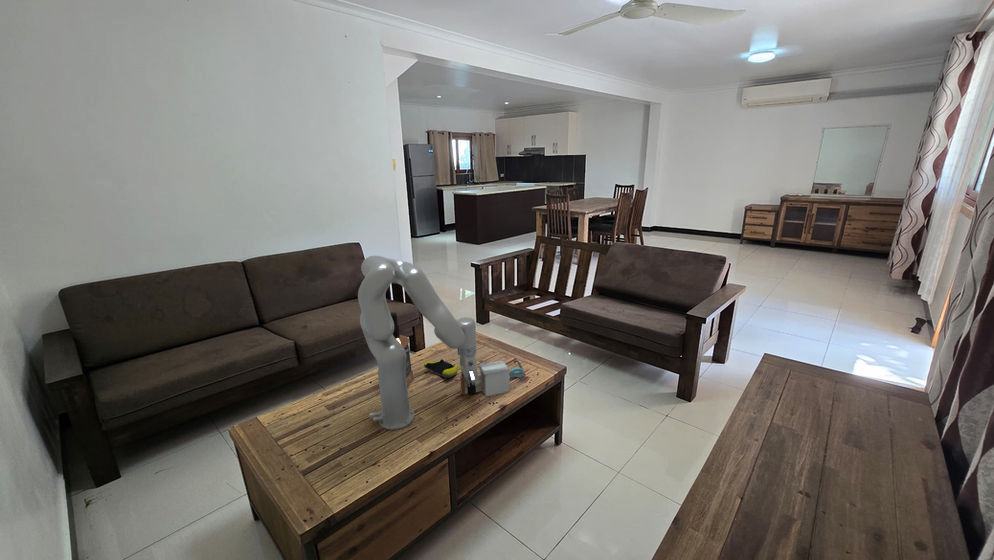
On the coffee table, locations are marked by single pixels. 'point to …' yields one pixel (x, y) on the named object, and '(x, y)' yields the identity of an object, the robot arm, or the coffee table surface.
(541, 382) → the coffee table surface
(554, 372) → the coffee table surface
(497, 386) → the block
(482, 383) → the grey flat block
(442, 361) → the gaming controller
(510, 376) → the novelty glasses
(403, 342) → the whiskey bottle
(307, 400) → the coffee table surface
